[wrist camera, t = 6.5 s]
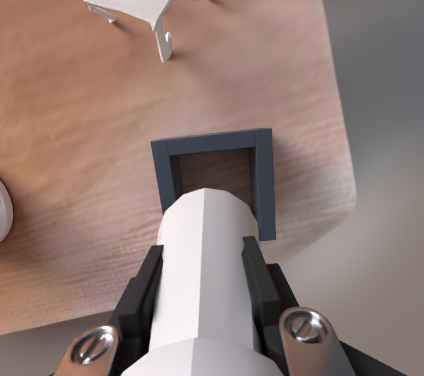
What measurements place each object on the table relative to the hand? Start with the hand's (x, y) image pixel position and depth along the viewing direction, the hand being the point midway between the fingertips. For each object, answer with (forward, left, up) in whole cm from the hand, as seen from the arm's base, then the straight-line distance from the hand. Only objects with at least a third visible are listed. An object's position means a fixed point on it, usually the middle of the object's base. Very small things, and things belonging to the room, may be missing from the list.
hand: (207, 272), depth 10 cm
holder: (0, 0, -17) cm, 17 cm away
